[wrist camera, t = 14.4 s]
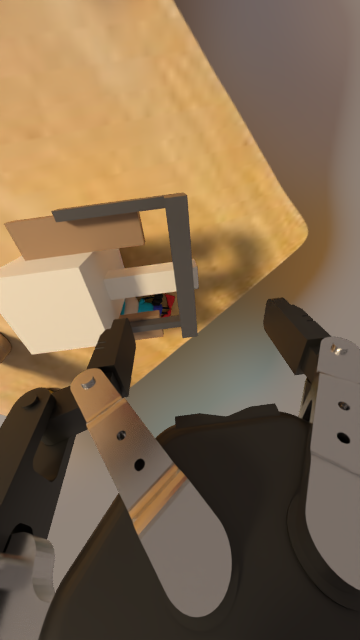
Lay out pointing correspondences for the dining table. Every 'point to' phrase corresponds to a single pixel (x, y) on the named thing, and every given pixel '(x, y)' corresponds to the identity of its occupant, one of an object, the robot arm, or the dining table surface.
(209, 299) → the dining table surface
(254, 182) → the dining table surface
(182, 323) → the grey u-shaped bracket
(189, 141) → the dining table surface
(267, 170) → the dining table surface
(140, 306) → the toy figure
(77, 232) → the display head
